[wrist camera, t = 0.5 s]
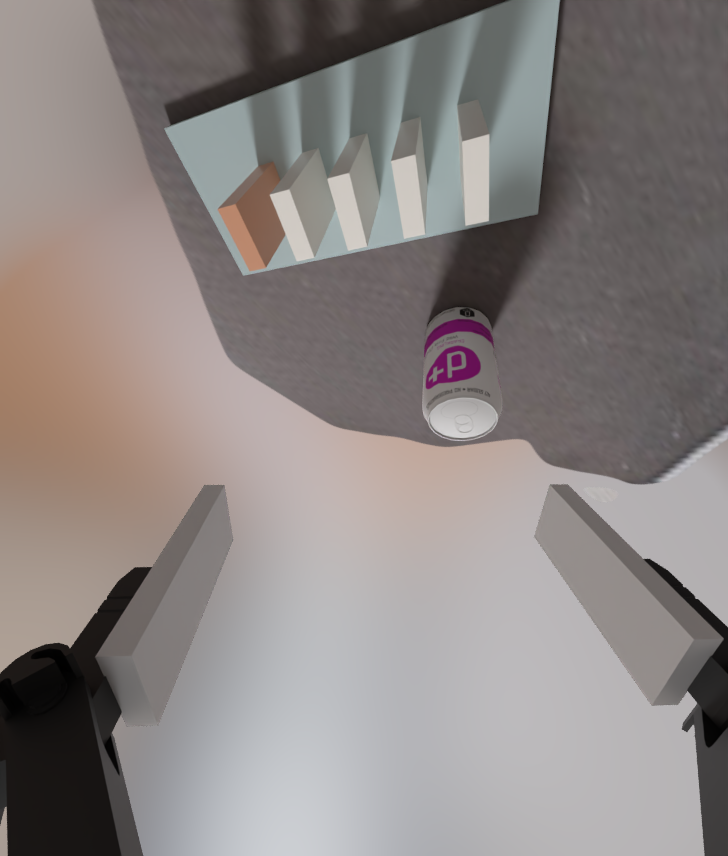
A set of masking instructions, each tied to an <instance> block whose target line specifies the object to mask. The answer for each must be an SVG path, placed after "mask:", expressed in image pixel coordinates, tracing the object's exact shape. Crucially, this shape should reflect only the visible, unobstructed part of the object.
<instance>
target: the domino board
mask: <svg viewBox="0 0 728 856" xmlns="http://www.w3.org/2000/svg"><path fill="white" fill-rule="evenodd" d="M559 3H560V0H507V1H504V2H502V3H499V4H496V5H494V6H491V7H488V8H486V9H483V10H480V11H477V12H475V13H472V14H469V15H467V16H464V17H461V18H459V19H456V20H453V21H450V22H448V23H445V24H442V25H440V26H437V27H434V28H432V29H429V30H426V31H423V32H421V33H418V34H415V35H413V36H410V37H407V38H405V39H402V40H399V41H396V42H394V43H391V44H388V45H386V46H383V47H380V48H378V49H375V50H372V51H370V52H367V53H364V54H361V55H359V56H356V57H353V58H351V59H348V60H345V61H343V62H340V63H337V64H334V65H332V66H329V67H326V68H324V69H321V70H318V71H316V72H313V73H310V74H307V75H305V76H302V77H299V78H297V79H294V80H291V81H289V82H286V83H283V84H280V85H278V86H275V87H272V88H270V89H267V90H264V91H262V92H259V93H256V94H253V95H251V96H248V97H245V98H243V99H240V100H237V101H235V102H232V103H229V104H227V105H224V106H221V107H218V108H216V109H213V110H210V111H208V112H205V113H202V114H200V115H197V116H194V117H191V118H189V119H186V120H183V121H181V122H178V123H175V124H173V125H170V126H168V127H166V128H165V131H166V133H167V135H168V137H169V139H170V141H171V142H172V144H173V146H174V148H175V150H176V152H177V154H178V155H179V157H180V159H181V161H182V163H183V165H184V167H185V168H186V170H187V172H188V174H189V176H190V178H191V180H192V181H193V183H194V185H195V187H196V189H197V191H198V193H199V194H200V196H201V198H202V200H203V202H204V204H205V206H206V207H207V209H208V211H209V213H210V215H211V217H212V219H213V220H214V222H215V224H216V226H217V228H218V230H219V231H220V233H221V235H222V237H223V239H224V241H225V243H226V244H227V246H228V248H229V250H230V252H231V254H232V256H233V257H234V259H235V261H236V263H237V265H238V267H239V269H240V270H241V272H242V274H243V276H244V275H249V274H254V273H258V272H263V271H268V270H273V269H277V268H282V267H287V266H292V265H297V264H301V263H306V262H311V261H316V260H321V259H325V258H330V257H335V256H340V255H345V254H349V253H354V252H359V251H364V250H369V249H373V248H378V247H383V246H388V245H392V244H397V243H402V242H407V241H412V240H416V239H421V238H426V237H431V236H436V235H440V234H445V233H450V232H455V231H460V230H464V229H469V228H474V227H479V226H484V225H488V224H493V223H498V222H503V221H508V220H512V219H517V218H522V217H527V216H531V215H536V214H538V208H539V198H540V188H541V178H542V169H543V159H544V149H545V139H546V130H547V120H548V110H549V100H550V91H551V81H552V71H553V61H554V52H555V42H556V32H557V22H558V13H559ZM477 99H478V100H479V103H480V106H481V109H482V113H483V116H484V119H485V122H486V125H487V128H488V131H489V221H486V222H482V223H477V224H472V225H467V226H465V217H464V207H463V198H462V189H461V180H460V160H459V139H458V117H457V105H460V104H464V103H467V102H470V101H474V100H477ZM418 117H420V119H421V128H422V137H423V147H424V156H425V165H426V175H427V184H428V190H427V209H426V229H425V235H420V236H415V237H411V238H406V239H404V236H403V230H402V224H401V218H400V212H399V206H398V200H397V194H396V188H395V182H394V176H393V170H392V164H391V159H392V155H393V151H394V148H395V144H396V140H397V136H398V132H399V128H400V124H401V122H405V121H408V120H411V119H415V118H418ZM365 133H367V134H368V139H369V144H370V149H371V154H372V159H373V164H374V169H375V174H376V179H377V184H378V189H379V194H380V200H379V204H378V208H377V212H376V216H375V219H374V223H373V227H372V231H371V235H370V238H369V242H368V246H367V247H363V248H359V249H354V250H349V251H348V249H347V246H346V242H345V239H344V235H343V232H342V228H341V225H340V221H339V218H338V215H337V211H336V210H335V212H334V215H333V217H332V219H331V221H330V224H329V226H328V228H327V231H326V233H325V235H324V237H323V240H322V242H321V244H320V246H319V249H318V251H317V253H316V255H315V258H311V259H306V260H302V261H296V258H295V256H294V254H293V251H292V249H291V246H290V244H289V241H288V239H287V236H286V235H285V237H284V238H283V240H282V242H281V244H280V245H279V247H278V249H277V250H276V252H275V254H274V255H273V257H272V259H271V260H270V262H269V264H268V266H267V267H266V268H264V269H259V270H254V271H249V269H248V267H247V265H246V263H245V261H244V260H243V258H242V256H241V254H240V252H239V250H238V248H237V246H236V244H235V242H234V240H233V238H232V236H231V235H230V233H229V231H228V229H227V227H226V225H225V223H224V221H223V219H222V217H221V215H220V213H219V211H218V208H219V207H220V206H221V205H222V204H223V203H224V202H225V201H226V199H227V198H228V197H229V196H230V195H231V194H232V193H233V192H234V191H235V190H236V189H237V188H238V187H239V186H240V185H241V184H242V183H243V182H244V181H245V179H246V178H247V177H248V176H249V175H250V174H251V173H252V172H253V171H254V170H255V169H256V168H257V167H258V166H260V165H263V164H267V163H270V162H274V164H275V167H276V170H277V172H278V175H279V178H280V180H281V179H282V178H283V177H284V175H285V174H286V173H287V172H288V170H289V169H290V168H291V166H292V165H293V164H294V162H295V161H296V160H297V159H298V157H299V156H300V155H301V153H303V152H306V151H309V150H313V149H316V148H319V151H320V155H321V158H322V162H323V165H324V169H325V172H326V176H327V178H328V176H329V175H330V173H331V171H332V169H333V167H334V165H335V164H336V162H337V160H338V158H339V156H340V155H341V153H342V151H343V149H344V147H345V145H346V144H347V142H348V140H349V138H352V137H355V136H359V135H362V134H365Z"/></svg>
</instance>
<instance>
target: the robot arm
mask: <svg viewBox="0 0 728 856" xmlns="http://www.w3.org/2000/svg"><path fill="white" fill-rule="evenodd" d="M534 537H535V538H536V540H537V541H538V543H539V544H540V546H541V547H542V549H543V550H544V551H545V553H546V554H547V556H548V557H549V559H550V560H551V562H552V563H553V564H554V566H555V567H556V569H557V570H558V572H559V573H560V574H561V576H562V577H563V579H564V580H565V582H566V583H567V584H568V586H569V587H570V589H571V590H572V592H573V593H574V595H575V596H576V597H577V599H578V600H579V602H580V603H581V605H582V606H583V607H584V609H585V610H586V612H587V613H588V615H589V616H590V617H591V619H592V621H593V622H594V623H595V625H596V626H597V628H598V629H599V631H600V632H601V633H602V635H603V636H604V638H605V639H606V640H607V642H608V644H609V645H610V646H611V648H612V649H613V651H614V652H615V654H616V655H617V656H618V658H619V659H620V661H621V662H622V663H623V665H624V667H625V668H626V669H627V671H628V672H629V674H630V675H631V676H632V678H633V679H634V681H635V682H636V684H637V685H638V687H639V688H640V690H641V691H642V692H643V694H644V695H645V697H646V698H647V700H648V701H649V702H650V704H651V705H652V706H654V705H678V704H679V703H680V701H681V700H682V698H683V697H684V695H685V694H686V692H687V691H688V692H689V693H690V694H691V695H692V697H693V698H694V699H695V701H696V702H697V705H696V706H695V708H694V709H693V710H692V712H691V713H690V714H689V716H688V717H687V719H686V720H685V721H684V723H683V726H682V730H684V731H686V732H688V730H689V729H690V727H691V726H692V725H694V726H695V739H696V750H697V751H696V752H697V764H698V777H699V789H700V802H701V814H702V827H703V839H704V851H705V856H728V627H727V626H726V625H725V624H724V623H723V622H722V621H721V620H719V619H718V618H717V617H716V616H715V615H714V614H713V613H712V612H711V611H710V610H709V609H708V608H707V607H706V606H705V605H704V604H703V603H702V602H700V601H699V600H698V599H695V596H694V595H693V594H692V593H691V592H690V591H689V590H688V589H687V588H685V587H683V584H681V583H680V582H679V581H678V580H677V579H676V578H675V577H674V576H673V575H672V574H671V573H670V572H669V571H668V570H666V569H664V568H663V567H661V566H660V565H658V564H657V563H655V562H654V561H652V560H650V559H642V557H641V556H640V555H639V554H637V552H636V551H635V550H633V549H632V548H631V547H630V546H629V545H628V544H627V543H626V542H625V541H624V540H623V539H622V538H621V537H620V536H619V535H618V534H617V533H616V532H615V531H614V530H613V529H612V528H611V527H610V526H609V525H608V524H607V523H606V522H605V521H604V520H603V519H602V518H601V517H600V516H599V515H598V514H597V513H596V512H595V511H594V510H593V509H592V508H591V507H590V506H589V505H588V504H587V503H586V502H585V501H584V500H583V499H582V498H581V497H580V496H579V495H578V494H577V493H576V492H575V491H574V490H573V489H572V488H571V487H570V486H569V485H550V486H549V489H548V492H547V496H546V499H545V502H544V506H543V509H542V513H541V516H540V519H539V522H538V526H537V529H536V532H535V536H534ZM232 541H233V536H232V530H231V524H230V517H229V511H228V505H227V498H226V492H225V486H224V485H204V486H203V488H202V490H201V491H200V493H199V494H198V496H197V497H196V499H195V501H194V502H193V504H192V505H191V507H190V509H189V510H188V512H187V513H186V515H185V516H184V518H183V519H182V521H181V523H180V524H179V526H178V527H177V529H176V531H175V532H174V534H173V535H172V537H171V538H170V540H169V541H168V543H167V545H166V546H165V548H164V549H163V551H162V553H161V554H160V556H159V557H158V559H157V560H156V562H155V564H154V565H153V567H137V568H136V567H135V568H134V569H133V570H131V571H130V572H129V573H128V574H126V575H125V576H124V577H123V578H121V579H120V580H119V581H118V582H117V584H116V585H115V587H114V588H113V589H112V591H111V592H110V593H109V595H108V596H107V600H104V602H103V603H102V605H101V606H100V608H99V609H98V612H97V613H95V614H94V616H93V617H92V619H91V620H90V621H89V623H88V624H87V626H86V627H85V628H84V630H83V631H82V633H81V634H80V635H79V637H78V638H77V640H76V641H75V642H74V644H73V645H72V647H71V648H69V647H68V646H67V645H64V644H60V643H53V644H46V645H43V646H40V647H38V648H36V649H33V650H30V651H29V652H27V653H25V654H24V655H22V656H20V657H19V658H17V659H16V660H15V661H13V662H12V663H11V664H10V665H9V666H8V667H7V668H5V669H4V670H3V671H2V672H1V674H0V824H1V820H2V816H3V812H4V808H5V807H7V838H8V856H143V853H142V849H141V845H140V841H139V837H138V833H137V829H136V825H135V821H134V817H133V813H132V809H131V804H130V800H129V796H128V793H127V788H126V784H125V780H124V776H123V772H122V768H121V764H120V760H119V756H118V752H117V748H116V743H115V739H114V737H113V734H112V731H113V729H114V727H115V725H116V723H117V721H118V719H119V717H120V715H122V717H123V720H124V722H125V724H126V726H127V727H129V726H153V725H158V724H159V722H160V719H161V717H162V714H163V712H164V710H165V707H166V705H167V702H168V700H169V697H170V695H171V692H172V689H173V687H174V685H175V682H176V680H177V677H178V675H179V672H180V670H181V667H182V664H183V663H184V660H185V657H186V655H187V652H188V650H189V647H190V645H191V643H192V640H193V638H194V635H195V633H196V630H197V628H198V625H199V623H200V620H201V618H202V616H203V613H204V611H205V608H206V605H207V603H208V601H209V598H210V596H211V593H212V591H213V588H214V585H215V583H216V581H217V578H218V576H219V573H220V571H221V569H222V566H223V564H224V561H225V559H226V556H227V554H228V551H229V549H230V546H231V544H232Z"/></svg>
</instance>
